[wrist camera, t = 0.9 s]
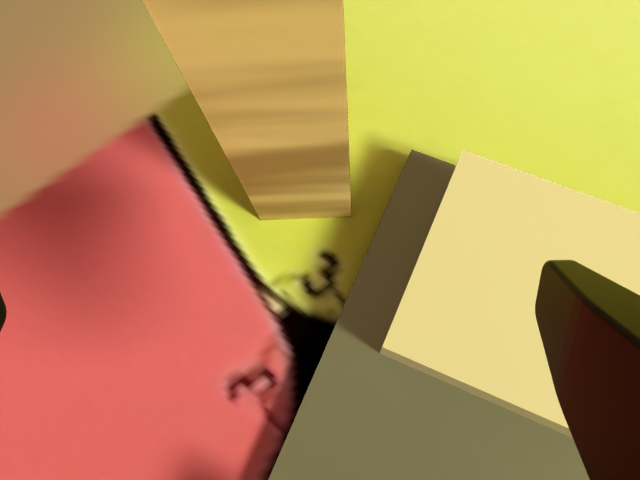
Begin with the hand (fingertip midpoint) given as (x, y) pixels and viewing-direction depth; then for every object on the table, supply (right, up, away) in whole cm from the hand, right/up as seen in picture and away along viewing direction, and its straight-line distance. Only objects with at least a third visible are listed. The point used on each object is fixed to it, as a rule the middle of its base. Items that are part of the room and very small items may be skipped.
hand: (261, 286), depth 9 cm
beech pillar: (0, +4, +16) cm, 16 cm away
